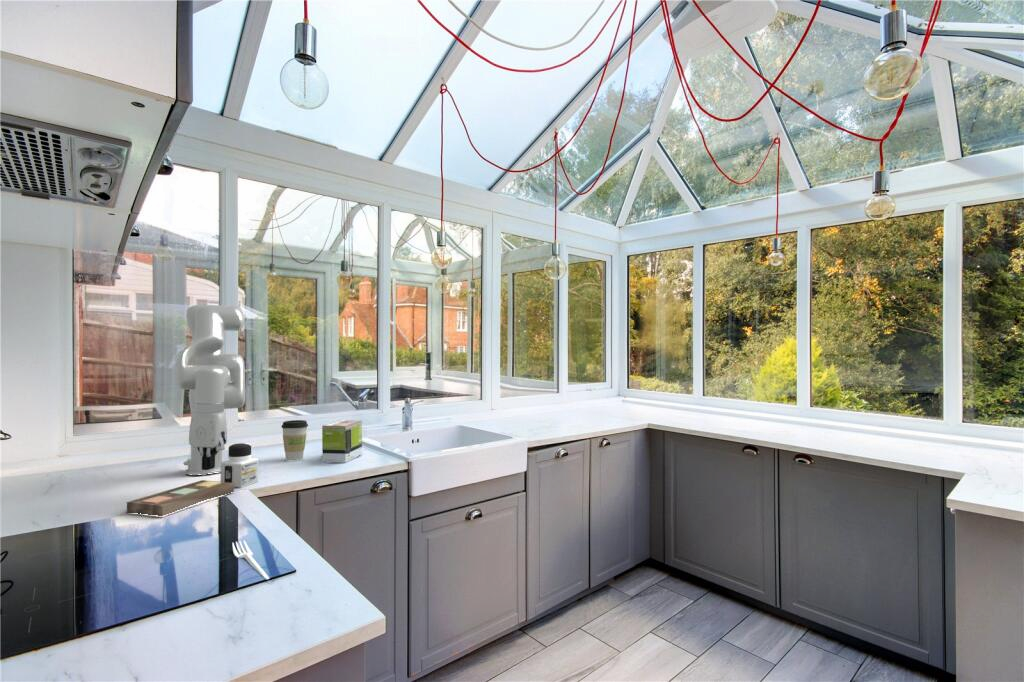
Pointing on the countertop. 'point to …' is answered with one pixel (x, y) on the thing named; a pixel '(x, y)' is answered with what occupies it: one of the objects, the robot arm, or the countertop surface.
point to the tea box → (341, 441)
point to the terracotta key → (157, 499)
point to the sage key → (184, 491)
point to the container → (240, 466)
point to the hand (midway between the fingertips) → (208, 468)
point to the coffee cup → (294, 438)
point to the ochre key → (207, 484)
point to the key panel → (179, 499)
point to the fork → (248, 557)
